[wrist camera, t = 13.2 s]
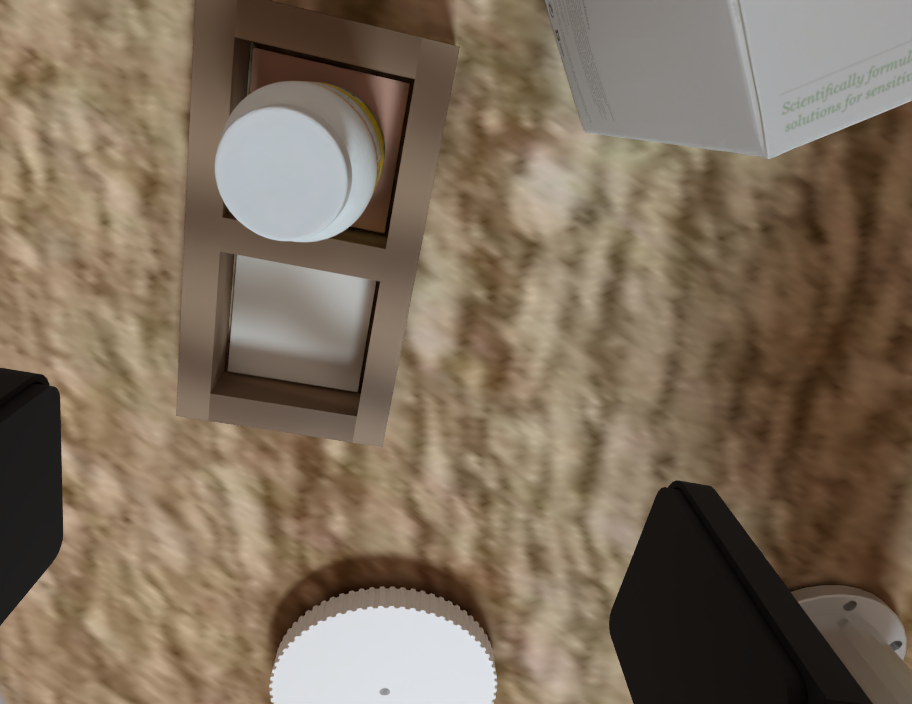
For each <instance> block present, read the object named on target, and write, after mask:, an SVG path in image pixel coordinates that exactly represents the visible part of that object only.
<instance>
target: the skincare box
mask: <svg viewBox="0 0 912 704" xmlns="http://www.w3.org/2000/svg"><path fill="white" fill-rule="evenodd" d="M545 3H546V7H547V10H548V14H549V17H550V21H551V24H552V28H553V31H554V34H555V38H556V41H557V45H558V48H559V51H560V55H561V58H562V61H563V64H564V68H565V71H566V74H567V78H568V81H569V84H570V88H571V91H572V94H573V98H574V101H575V104H576V107H577V110H578V114H579V117H580V120H581V123H582V126H583V130H584V131H585V132H586V133H593V134H600V135H608V136H614V137H623V138H630V139H638V140H644V141H653V142H660V143H667V144H676V145H681V146H689V147H696V148H704V149H711V150H718V151H729V152H734V153H738V154H746V155H753V156H758V157H765V158H767V159H770V158H773V157H776V156H778V155H780V154H782V153H785V152H787V151H789V150H791V149H794V148H796V147H799V146H801V145H804V144H807V143H809V142H812V141H814V140H817V139H819V138H822V137H824V136H827V135H829V134H832V133H834V132H837V131H839V130H842V129H844V128H846V127H849V126H851V125H854V124H856V123H859V122H861V121H864V120H866V119H868V118H871V117H873V116H876V115H878V114H881V113H883V112H886V111H888V110H890V109H893V108H895V107H898V106H900V105H903V104H905V103H908V102H910V101H912V0H545Z"/></svg>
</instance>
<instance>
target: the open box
mask: <svg viewBox="0 0 912 704" xmlns="http://www.w3.org/2000/svg"><path fill="white" fill-rule="evenodd" d="M251 42H255V43H259V44H263V45H268V46H272V47H276V48H281V49H285V50H289V51H293V52H298V53H302V54H306V55H311V56H315V57H319V58H324V59H328V60H332V61H336V62H341V63H345V64H349V65H354V66H358V67H362V68H367V69H371V70H375V71H380V72H384V73H388V74H392V75H397V76H401V77H405V78H410V79H414V80H415V82H414V88H413V94H412V99H411V105H410V111H409V117H408V123H407V128H406V134H405V140H404V146H403V152H402V158H401V163H400V169H399V175H398V181H397V187H396V192H395V198H394V204H393V210H392V216H391V222H390V227H389V233H388V237H387V236H382V235H377V234H372V233H367V232H362V231H357V230H352V229H346V230H344V231H343V232H341V233H339V234H337V235H335V236H333V237H330V238H328V239H324V240H320V241H315V242H293V241H278V240H272V239H268V238H266V237H263V236H260V235H258V234H256V233H254V232H253V231H251V230H250V229H248V228H247V227H245V226H244V225H243V224H242V223H240V222H239V221H238V220H237V219H236V218H235V217H234V215H233V214H232V213H231V212H230V211H229V209H228V208H227V206H226V205H225V203H224V201H223V199H222V197H221V195H220V192H219V190H218V186H217V182H216V177H215V156H216V152H217V147H218V145H219V142H220V140H221V136H222V132H223V129H224V126H225V124H226V122H227V120H228V118H229V116H230V115H231V113H232V111H233V110H234V109H235V108H236V106H237V105H238V104H239V103H240V102H241V101H242V100H243V99H244V98H245V97H246V96H247V83H248V70H249V58H250V45H251ZM459 48H460V47H459V46H455V45H451V44H446V43H442V42H438V41H434V40H430V39H426V38H422V37H417V36H413V35H409V34H405V33H401V32H397V31H393V30H389V29H384V28H380V27H376V26H372V25H368V24H364V23H360V22H356V21H351V20H347V19H343V18H339V17H335V16H331V15H327V14H322V13H318V12H314V11H310V10H306V9H302V8H298V7H294V6H289V5H285V4H281V3H277V2H273V1H269V0H195V16H194V38H193V60H192V82H191V104H190V126H189V147H188V169H187V191H186V213H185V235H184V257H183V279H182V300H181V322H180V344H179V366H178V388H177V410H176V416H180V417H186V418H193V419H200V420H206V421H213V422H220V423H226V424H233V425H240V426H246V427H253V428H260V429H266V430H273V431H279V432H286V433H293V434H299V435H306V436H313V437H319V438H326V439H333V440H339V441H346V442H353V443H359V444H366V445H373V446H379V447H382V446H383V441H384V436H385V430H386V425H387V420H388V415H389V410H390V405H391V399H392V394H393V389H394V384H395V379H396V374H397V368H398V363H399V358H400V353H401V348H402V343H403V338H404V332H405V327H406V322H407V317H408V312H409V307H410V301H411V296H412V291H413V286H414V281H415V276H416V270H417V265H418V260H419V255H420V250H421V245H422V239H423V234H424V229H425V224H426V219H427V214H428V208H429V203H430V198H431V193H432V188H433V183H434V177H435V172H436V167H437V162H438V157H439V152H440V146H441V141H442V136H443V131H444V126H445V121H446V115H447V110H448V105H449V100H450V95H451V90H452V84H453V79H454V74H455V69H456V64H457V59H458V53H459ZM283 81H308V82H323V83H329V84H334V85H337V86H340V87H343V88H345V89H347V90H349V91H351V92H352V93H354V94H356V95H357V96H358V97H359V98H361V99H362V100H363V101H364V102H365V103H366V104H367V105H368V107H369V108H370V109H371V110H372V112H373V113H374V114H375V116H376V118H377V120H378V122H379V124H380V126H381V129H382V132H383V135H384V140H385V160H384V165H383V168H382V172H381V175H380V178H379V181H378V183H377V185H376V188H375V191H374V193H373V195H372V197H371V199H370V201H369V203H368V205H367V207H366V208H365V210H364V212H363V213H362V214H361V216H360V217H359V218H358V219H357V220H356V221H355V222H354V223H353V224H352V225H351V227H356V228H361V229H366V230H371V231H376V232H381V233H385V227H386V221H387V215H388V209H389V204H390V198H391V192H392V186H393V180H394V174H395V168H396V162H397V156H398V150H399V145H400V139H401V133H402V127H403V121H404V115H405V109H406V103H407V97H408V91H409V85H410V84H409V83H405V82H401V81H396V80H392V79H388V78H383V77H379V76H375V75H370V74H366V73H362V72H357V71H353V70H349V69H344V68H340V67H336V66H332V65H327V64H323V63H319V62H314V61H310V60H306V59H301V58H297V57H293V56H288V55H284V54H280V53H275V52H271V51H267V50H262V49H258V48H254V47H253V59H252V72H251V85H250V94H251V93H252V92H254V91H255V90H257V89H259V88H261V87H264V86H266V85H269V84H273V83H277V82H283ZM234 254H236V255H237V261H236V274H235V287H234V299H233V312H232V324H231V337H230V350H229V362H228V371H230V372H225V367H226V354H227V341H228V329H229V316H230V303H231V290H232V277H233V264H234ZM376 281H380V286H379V291H378V297H377V303H376V309H375V315H374V320H373V326H372V332H371V338H370V344H369V350H368V355H367V361H366V367H365V373H364V379H363V385H362V390H361V393H355V392H358V387H359V381H360V375H361V369H362V363H363V357H364V351H365V345H366V339H367V333H368V328H369V322H370V316H371V310H372V304H373V298H374V292H375V286H376ZM231 372H236V373H231ZM238 373H243V374H238ZM244 374H249V375H244ZM250 375H255V376H250ZM256 376H261V377H256ZM262 377H267V378H262ZM269 378H274V379H269ZM275 379H280V380H275ZM281 380H286V381H281ZM287 381H292V382H287ZM293 382H298V383H293ZM300 383H305V384H300ZM306 384H311V385H306ZM312 385H317V386H312ZM318 386H323V387H318ZM324 387H329V388H324ZM331 388H335V389H331ZM337 389H342V390H337ZM343 390H348V391H343ZM349 391H354V392H349Z"/></svg>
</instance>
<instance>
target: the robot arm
mask: <svg viewBox="0 0 912 704" xmlns="http://www.w3.org/2000/svg"><path fill="white" fill-rule="evenodd" d="M62 540H63V505H62V462H61V418H60V394H59V391H58V389H57V388H56V387H53V386H49V382H48V380H47V378H46V377H45V376H44V375H41V374H35V373H29V372H23V371H17V370H11V369H5V368H0V625H1V624H2V623H3V622H4V620H5V619H6V618H7V617H8V616H9V614H10V613H11V612H12V611H13V610H14V608H15V607H16V606H17V605H18V603H19V602H20V601H21V600H22V599H23V597H24V596H25V595H26V594H27V593H28V591H29V590H30V589H31V588H32V587H33V585H34V584H35V583H36V582H37V580H38V579H39V578H40V577H41V576H42V574H43V573H44V572H45V571H46V570H47V568H48V567H49V566H50V565H51V564H52V562H53V561H54V559H55V558H56V556H57V554H58V552H59V550H60V547H61V544H62ZM609 629H610V635H611V638H612V641H613V644H614V647H615V650H616V653H617V656H618V659H619V662H620V665H621V668H622V671H623V674H624V677H625V680H626V683H627V686H628V689H629V691H630V694H631V697H632V700H633V703H634V704H912V671H911V670H910V668H909V667H908V666H907V665H906V664H905V663H904V661H903V659H904V656H905V652H906V634H905V630H904V626H903V625H902V623H901V621H900V620H899V618H898V616H897V615H896V614H895V613H894V612H893V611H892V610H891V609H890V608H889V606H888V605H887V604H886V603H885V602H884V601H882V600H881V599H880V598H878V597H877V596H875V595H874V594H872V593H870V592H867V591H864V590H862V589H859V588H855V587H849V586H843V585H821V586H814V587H807V588H802V589H799V590H795V591H792V592H790V591H789V589H788V588H787V587H786V585H785V584H784V583H783V581H782V580H781V578H780V577H779V576H778V574H777V573H776V572H775V570H774V569H773V568H772V566H771V565H770V564H769V562H768V561H767V560H766V558H765V557H764V555H763V554H762V553H761V551H760V550H759V549H758V547H757V546H756V545H755V543H754V542H753V541H752V539H751V538H750V537H749V535H748V534H747V532H746V531H745V530H744V528H743V527H742V526H741V524H740V523H739V522H738V520H737V519H736V518H735V516H734V515H733V514H732V512H731V511H730V509H729V508H728V507H727V505H726V504H725V503H724V501H723V500H722V499H721V497H720V496H719V495H718V493H717V492H716V491H715V489H713V488H712V487H711V486H707V485H701V484H695V483H689V482H683V481H677V480H676V481H674V482H672V483H671V484H670V485H669V487H668V488H666V487H664V488H661V489H660V490H659V491H658V493H657V495H656V498H655V500H654V503H653V505H652V508H651V511H650V513H649V516H648V518H647V521H646V523H645V526H644V528H643V531H642V534H641V536H640V539H639V541H638V544H637V546H636V549H635V551H634V554H633V556H632V559H631V562H630V564H629V567H628V569H627V572H626V574H625V577H624V579H623V582H622V585H621V587H620V590H619V592H618V595H617V597H616V600H615V602H614V605H613V608H612V610H611V614H610V620H609Z"/></svg>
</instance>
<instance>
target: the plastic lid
mask: <svg viewBox="0 0 912 704" xmlns="http://www.w3.org/2000/svg"><path fill="white" fill-rule="evenodd" d="M270 680H271V682H270V688H271V689H270V695H272V696H271V702H273V704H494V702H493V699H495V697H496V695H495V692H497V687H496V685H497V676H496V669H495V661H494V654H493V649H492V647H491V643H490V641H489V640H488V636H487V634H484V630H483V628H482V627H481V628H479V623H478V622H477V621H475V622H474V619H473V617H472V616H471V615H470V616H468V615H467V612H466V611H465V610H463V611H462V610H460V606H458V605H456V606H454V605H452V602H451V601H444V598H443V597H439V598H437V597H435V594H432V593H431V594H426V593H425V591H420V592H417V591H416V589H410V590H406V588H404V587H401V588H400V589H396V588H395V587H390V588H389V589H388V588H385V587H380V588H379V589H375V588H374V587H370V588H369V590H364V589H359V591H357V592H354V591H349V594H344V593H342V594H339V597H337V598H335V597H331V598H330V600H329V601H322V602H321V605H319V606H317V605H315V606H314V607H313V609H312V610H311V611H310V610H308V611H306V612H305V616H300V617H299V619H298V622H294V623H293V625H292V628H289V629H288V630H287V635H284V637H283V640H282V641H281V642H280V645H279V649H278V650H277V654H276V658H275V662H274V666H273V670H272V674H271V679H270Z"/></svg>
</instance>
